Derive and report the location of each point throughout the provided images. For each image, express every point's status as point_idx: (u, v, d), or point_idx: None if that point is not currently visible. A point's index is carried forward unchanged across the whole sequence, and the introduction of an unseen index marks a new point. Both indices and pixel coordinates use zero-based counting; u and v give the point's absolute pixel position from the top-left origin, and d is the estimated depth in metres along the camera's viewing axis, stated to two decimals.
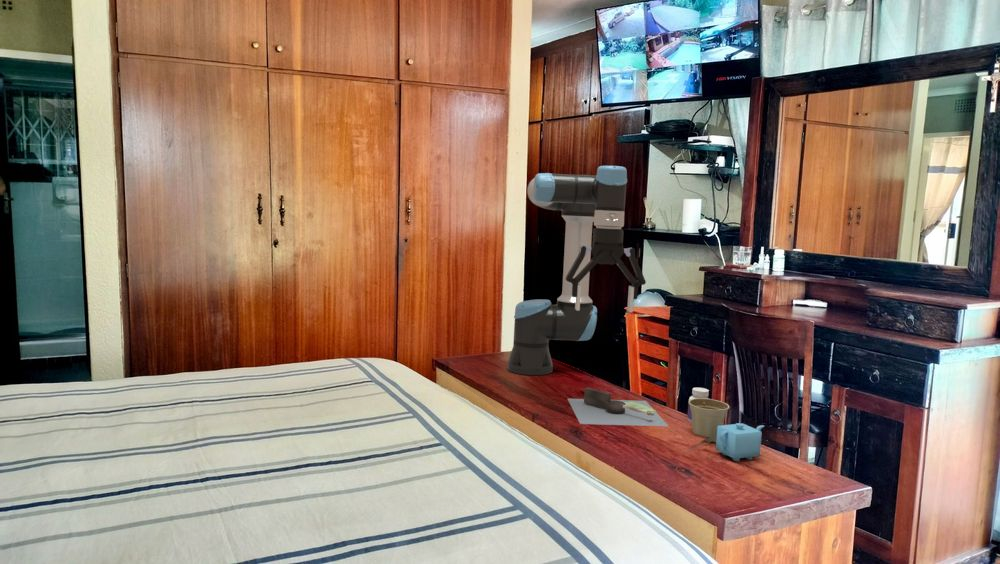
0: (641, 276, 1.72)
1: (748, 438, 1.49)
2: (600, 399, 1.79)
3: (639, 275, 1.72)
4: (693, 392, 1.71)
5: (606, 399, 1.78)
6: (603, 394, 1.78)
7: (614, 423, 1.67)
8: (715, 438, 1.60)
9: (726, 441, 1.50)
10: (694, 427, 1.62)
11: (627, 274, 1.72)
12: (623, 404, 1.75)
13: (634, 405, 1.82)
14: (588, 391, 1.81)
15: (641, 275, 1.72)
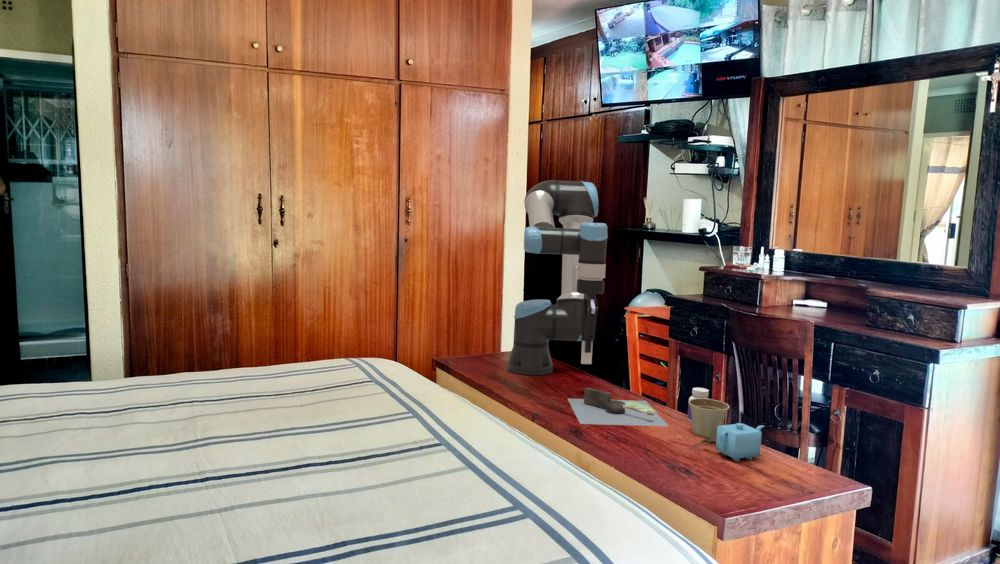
0: (586, 332, 1.83)
1: (748, 438, 1.49)
2: (600, 399, 1.79)
3: (585, 330, 1.84)
4: (693, 392, 1.71)
5: (606, 399, 1.78)
6: (603, 394, 1.78)
7: (614, 423, 1.67)
8: (715, 438, 1.60)
9: (726, 441, 1.50)
10: (694, 427, 1.62)
11: (584, 325, 1.86)
12: (623, 404, 1.75)
13: (634, 405, 1.82)
14: (588, 391, 1.81)
15: (586, 331, 1.83)
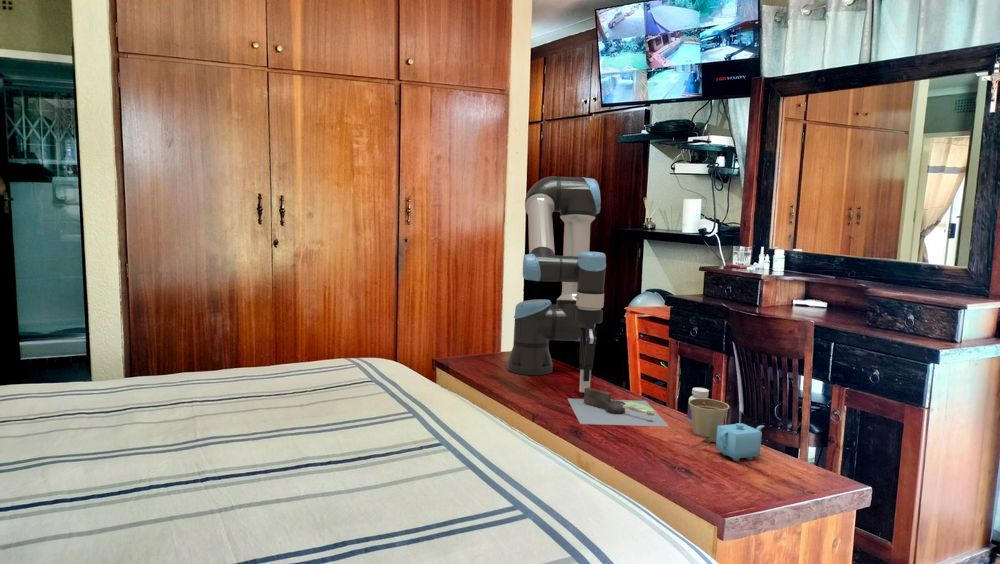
0: (584, 361, 1.84)
1: (748, 438, 1.49)
2: (600, 399, 1.79)
3: (584, 359, 1.85)
4: (693, 392, 1.71)
5: (606, 399, 1.78)
6: (603, 394, 1.78)
7: (614, 423, 1.67)
8: (715, 438, 1.60)
9: (726, 441, 1.50)
10: (694, 427, 1.62)
11: (583, 354, 1.87)
12: (623, 404, 1.75)
13: (634, 405, 1.82)
14: (588, 391, 1.81)
15: (584, 360, 1.84)
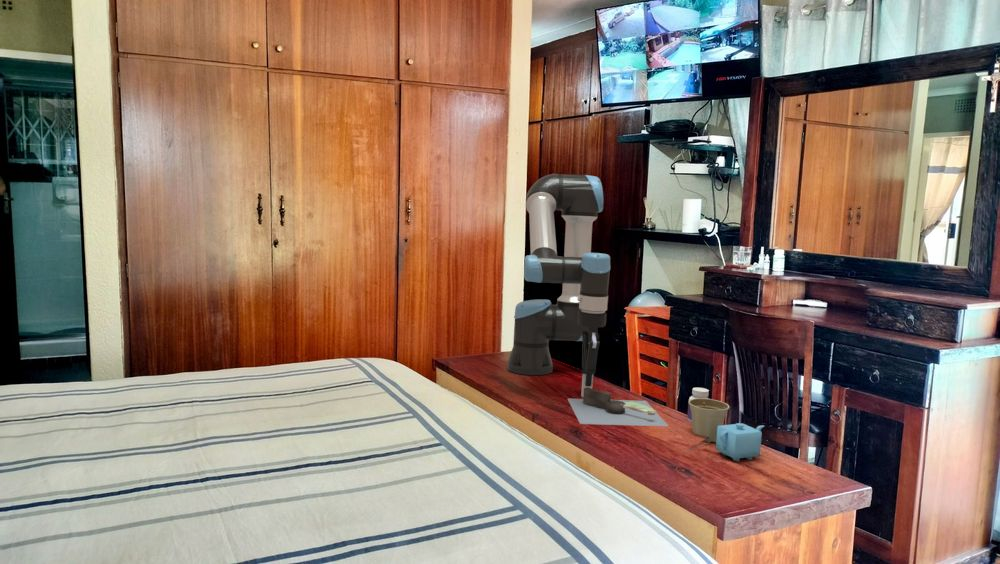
0: (586, 365, 1.79)
1: (748, 438, 1.49)
2: (600, 399, 1.79)
3: (586, 363, 1.79)
4: (693, 392, 1.71)
5: (606, 399, 1.78)
6: (603, 394, 1.78)
7: (614, 423, 1.67)
8: (715, 438, 1.60)
9: (726, 441, 1.50)
10: (694, 427, 1.62)
11: (585, 358, 1.81)
12: (623, 404, 1.76)
13: (634, 405, 1.82)
14: (587, 391, 1.81)
15: (586, 365, 1.79)
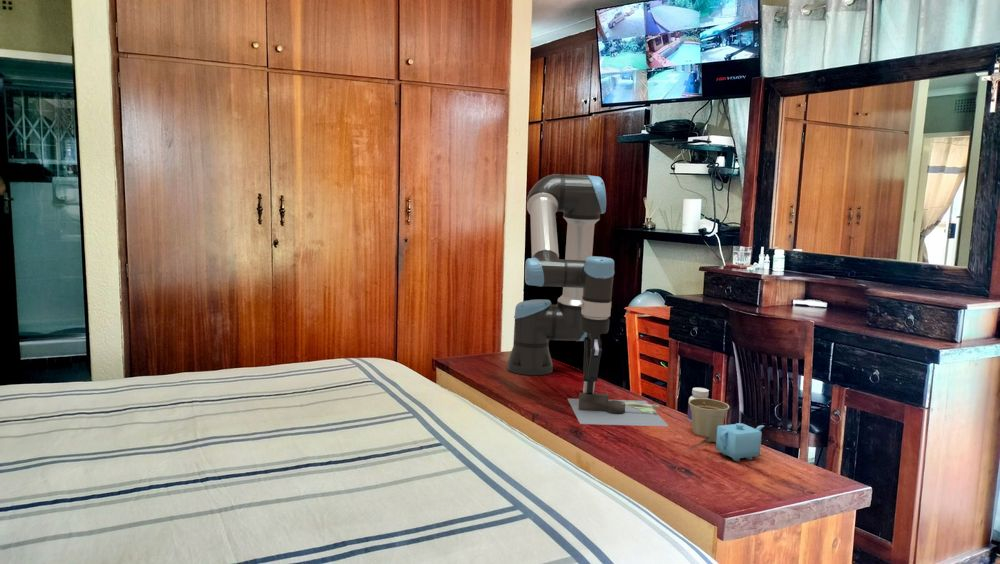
0: (588, 373, 1.74)
1: (748, 438, 1.49)
2: (599, 402, 1.76)
3: (588, 371, 1.74)
4: (693, 392, 1.71)
5: (606, 401, 1.76)
6: (603, 396, 1.76)
7: (614, 423, 1.67)
8: (715, 438, 1.60)
9: (726, 441, 1.50)
10: (694, 427, 1.62)
11: (587, 365, 1.76)
12: (623, 403, 1.77)
13: None
14: (584, 396, 1.76)
15: (588, 372, 1.74)
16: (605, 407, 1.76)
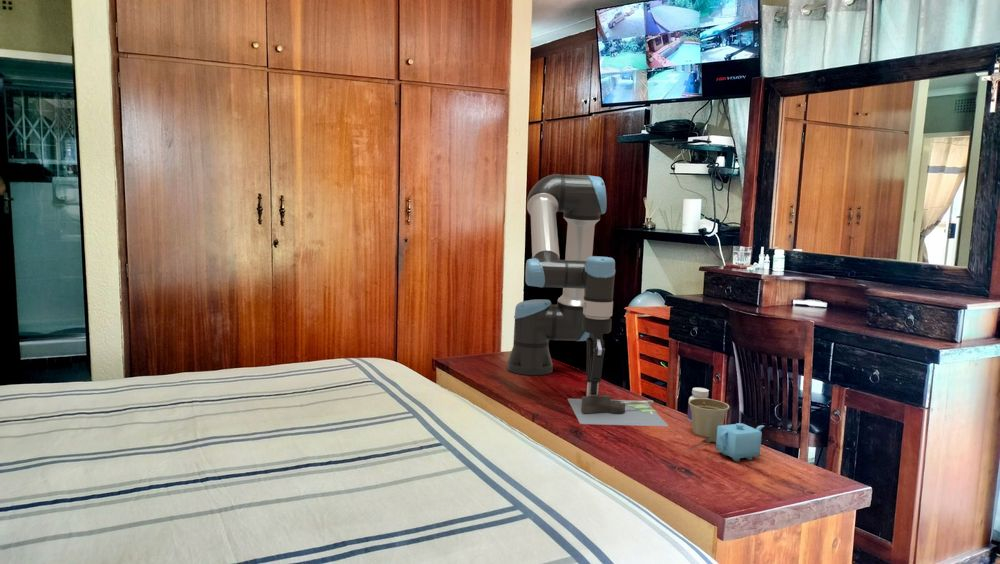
0: (591, 374, 1.73)
1: (748, 438, 1.49)
2: (602, 404, 1.74)
3: (591, 371, 1.73)
4: (693, 392, 1.71)
5: (608, 402, 1.75)
6: (605, 398, 1.75)
7: (614, 423, 1.67)
8: (715, 438, 1.60)
9: (726, 441, 1.50)
10: (694, 427, 1.62)
11: (590, 366, 1.75)
12: (621, 402, 1.78)
13: (634, 405, 1.82)
14: (588, 400, 1.73)
15: (591, 373, 1.72)
16: (607, 408, 1.75)
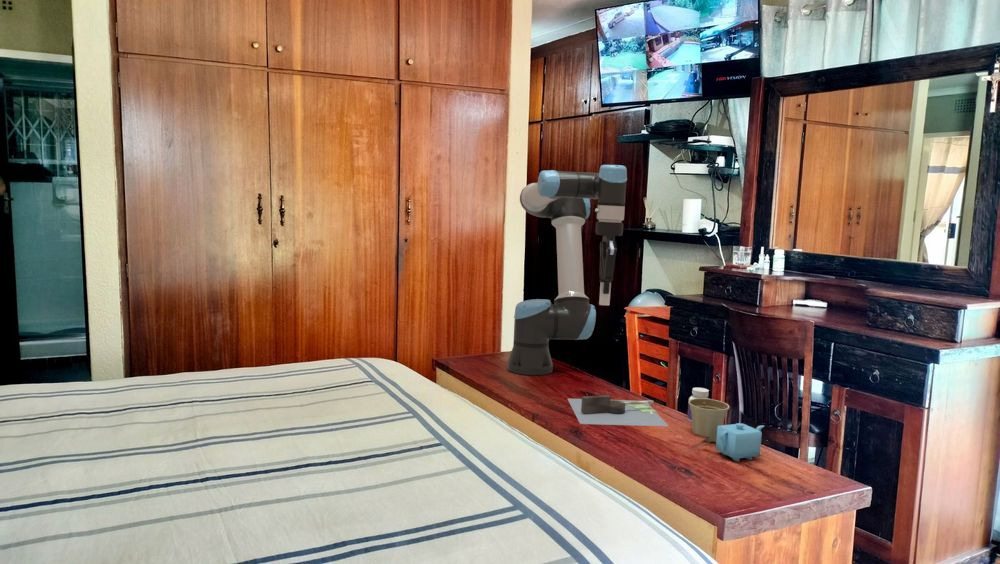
0: (604, 273, 1.87)
1: (748, 438, 1.49)
2: (602, 404, 1.74)
3: (604, 271, 1.87)
4: (693, 392, 1.71)
5: (608, 402, 1.75)
6: (605, 398, 1.75)
7: (614, 423, 1.67)
8: (715, 438, 1.60)
9: (726, 441, 1.50)
10: (694, 427, 1.62)
11: (603, 267, 1.89)
12: (621, 402, 1.78)
13: (634, 405, 1.82)
14: (588, 400, 1.73)
15: (604, 272, 1.86)
16: (607, 408, 1.75)
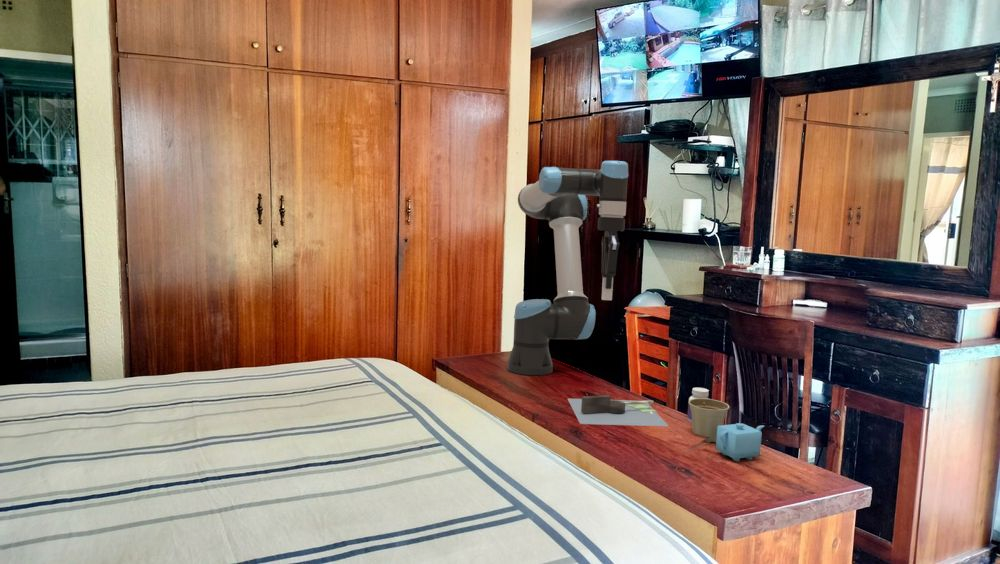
0: (607, 268, 1.88)
1: (748, 438, 1.49)
2: (602, 404, 1.74)
3: (606, 266, 1.88)
4: (693, 392, 1.71)
5: (608, 402, 1.75)
6: (605, 398, 1.75)
7: (614, 423, 1.67)
8: (715, 438, 1.60)
9: (726, 441, 1.50)
10: (694, 427, 1.62)
11: (605, 262, 1.91)
12: (621, 402, 1.78)
13: (634, 405, 1.82)
14: (588, 400, 1.73)
15: (607, 267, 1.88)
16: (607, 408, 1.75)
